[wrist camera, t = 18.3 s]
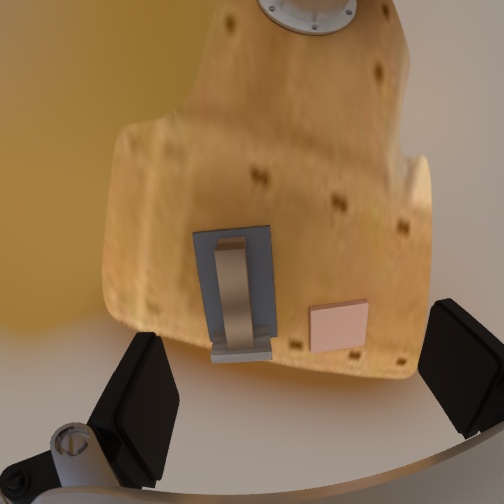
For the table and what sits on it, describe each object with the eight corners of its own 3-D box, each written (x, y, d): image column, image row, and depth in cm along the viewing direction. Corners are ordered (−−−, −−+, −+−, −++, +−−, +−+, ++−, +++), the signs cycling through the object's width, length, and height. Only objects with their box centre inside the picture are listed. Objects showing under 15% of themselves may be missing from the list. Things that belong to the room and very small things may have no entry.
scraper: (202, 239, 34) (193, 256, 29) (262, 234, 34) (264, 250, 29) (216, 335, 38) (212, 363, 33) (269, 332, 38) (272, 359, 33)
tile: (310, 310, 37) (311, 353, 39) (368, 302, 37) (364, 344, 39) (308, 305, 38) (309, 347, 41) (364, 297, 38) (361, 339, 40)
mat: (193, 232, 35) (192, 233, 34) (269, 225, 35) (269, 226, 34) (211, 339, 39) (210, 341, 39) (276, 334, 39) (277, 336, 39)
